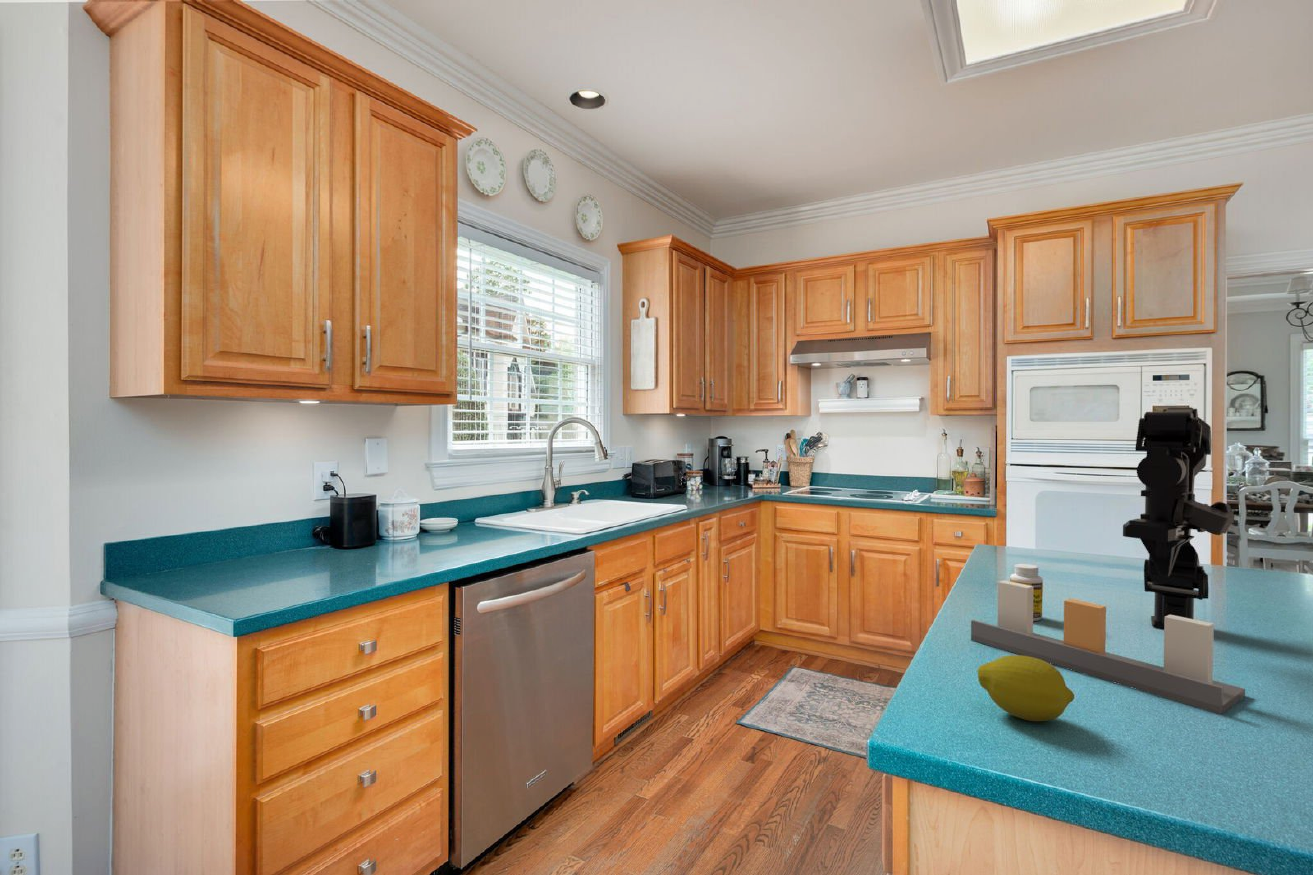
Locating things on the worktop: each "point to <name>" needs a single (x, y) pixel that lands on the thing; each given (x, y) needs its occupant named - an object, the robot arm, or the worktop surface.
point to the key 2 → (1188, 648)
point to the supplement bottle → (1029, 577)
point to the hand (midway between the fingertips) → (1165, 576)
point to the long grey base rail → (1111, 668)
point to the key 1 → (1015, 607)
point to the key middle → (1085, 625)
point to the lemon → (1026, 687)
